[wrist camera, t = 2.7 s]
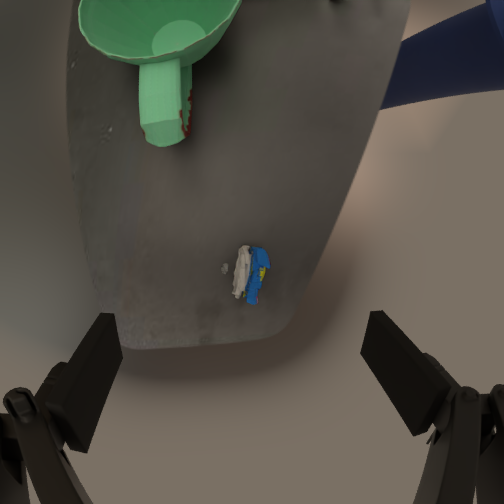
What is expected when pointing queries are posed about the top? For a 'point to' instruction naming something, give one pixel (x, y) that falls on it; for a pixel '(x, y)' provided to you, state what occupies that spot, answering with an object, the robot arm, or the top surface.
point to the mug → (158, 52)
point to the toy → (249, 272)
